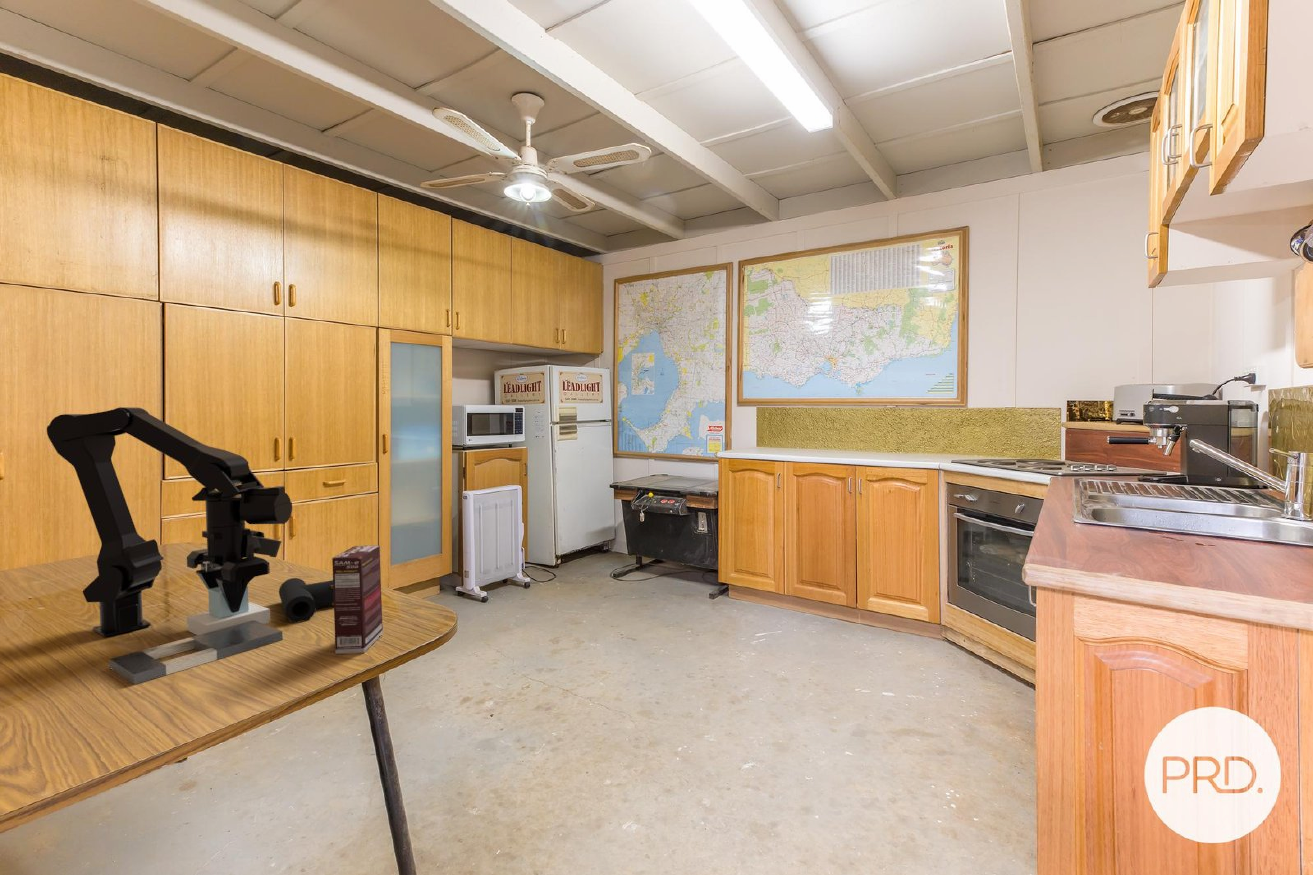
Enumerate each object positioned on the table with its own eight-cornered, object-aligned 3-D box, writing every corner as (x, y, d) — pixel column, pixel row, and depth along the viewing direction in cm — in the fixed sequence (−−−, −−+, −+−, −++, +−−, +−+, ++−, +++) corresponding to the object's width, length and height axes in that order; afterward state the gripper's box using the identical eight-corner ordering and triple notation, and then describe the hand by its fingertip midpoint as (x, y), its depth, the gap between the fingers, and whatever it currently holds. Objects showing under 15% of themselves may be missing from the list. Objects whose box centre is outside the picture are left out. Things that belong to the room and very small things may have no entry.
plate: (109, 668, 91) (109, 659, 91) (254, 628, 108) (254, 620, 108) (134, 684, 86) (133, 674, 86) (282, 639, 103) (282, 631, 103)
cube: (209, 613, 108) (208, 589, 108) (237, 606, 112) (236, 583, 112) (220, 618, 106) (219, 593, 106) (248, 611, 110) (247, 586, 109)
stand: (187, 630, 107) (186, 616, 107) (249, 614, 115) (249, 601, 115) (206, 639, 103) (206, 625, 103) (270, 622, 111) (269, 609, 111)
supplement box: (355, 635, 105) (353, 545, 104) (383, 634, 105) (381, 544, 105) (332, 655, 96) (330, 557, 96) (364, 654, 97) (361, 556, 96)
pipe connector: (341, 569, 129) (353, 586, 117) (342, 593, 129) (354, 612, 117) (278, 579, 122) (284, 598, 110) (279, 605, 123) (285, 626, 110)
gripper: (299, 522, 110) (301, 606, 111) (251, 513, 120) (253, 590, 121) (230, 533, 101) (233, 624, 101) (184, 522, 111) (187, 605, 111)
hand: (228, 609), depth 109 cm, fingers closed on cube, 4 cm apart
